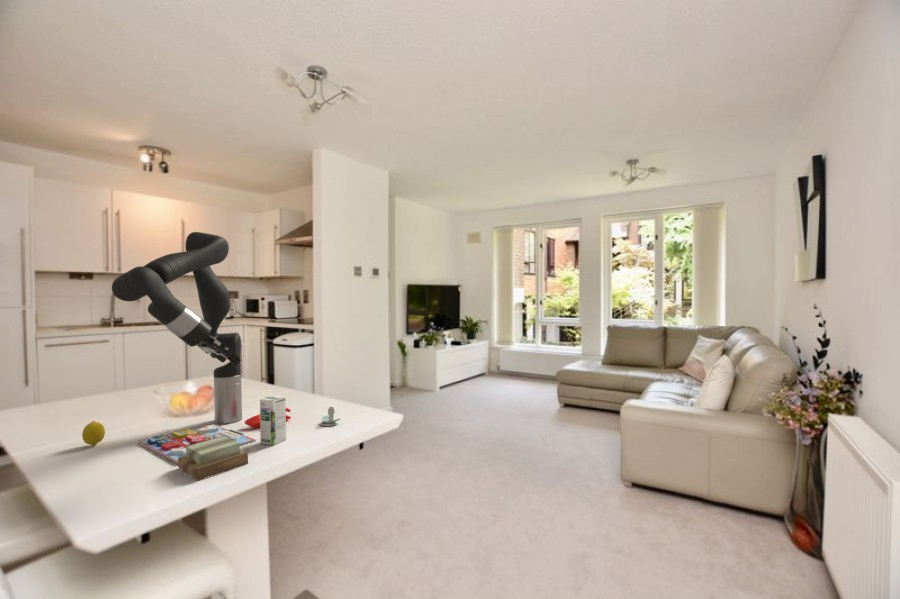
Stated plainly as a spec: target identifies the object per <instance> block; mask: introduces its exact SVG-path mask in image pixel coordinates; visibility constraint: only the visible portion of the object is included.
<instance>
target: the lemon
mask: <svg viewBox="0 0 900 599" xmlns="http://www.w3.org/2000/svg"><path fill="white" fill-rule="evenodd" d="M105 434H106V429H105V427H104V425H103V424H102V423H101V422H98V421H95V420H93V421H91V422H90V423H88V424H87V425H85V426H84V427H83V430H82V440H83V443H85V444H86V445H91V446H93V447H95V446H96V445H97V444H98V443H100V442H102V440H103V439H104V437H105Z"/></svg>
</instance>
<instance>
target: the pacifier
mask: <svg viewBox="0 0 900 599" xmlns="http://www.w3.org/2000/svg"><path fill="white" fill-rule="evenodd" d="M335 412H336V410H335V407H333V406H330V407H329V408H328V409H327V414H328V415H324V416H322V417H321V421H320V423H319V425H321V427H322V426H323V427H334V426H335V425H336V422H338V421H341V418H337V419H334V414H335Z"/></svg>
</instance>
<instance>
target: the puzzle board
mask: <svg viewBox="0 0 900 599" xmlns="http://www.w3.org/2000/svg"><path fill="white" fill-rule="evenodd" d="M222 436H225V437H227V438H229V439H232V440H234V441H236V442H238V443H240V447H243V446H244V445H245V444H246V445H248V443H249V444H252V443H255V442H256V441H257V439H256V438H253V437H249V436H247V435H246V434H244V433H242V432H239V431H236V430H233V429H227V428H224V427H221V425H218V424H215V423H213V424H207V425H204V426H198V427H194V428H181V429H177V430H173V431H171V433H169V434H165V435H164V434H162V433H161V434H158V435H154V436H152V437H149V438H147V439H145V440H140V441H138V444H139V445H140V446H141V445H142V447H143V448H145V449H147V450H148V451H151V452H152V451H153V453H154V452H155V454H156V455H158V456H160V457H162V458H163V457H164V458H163V459H165V458H166V459H165V460H167V459H168V460H167V461H169V462H171V463H173V464H175V465H176V464H177V466H178V457H182V456H185V455H186V446H189V445H193V444H196V443H200V442H204V441H207V440H211V439H214V438H218V437H222ZM242 445H243V446H242ZM246 445H245V446H246Z"/></svg>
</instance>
